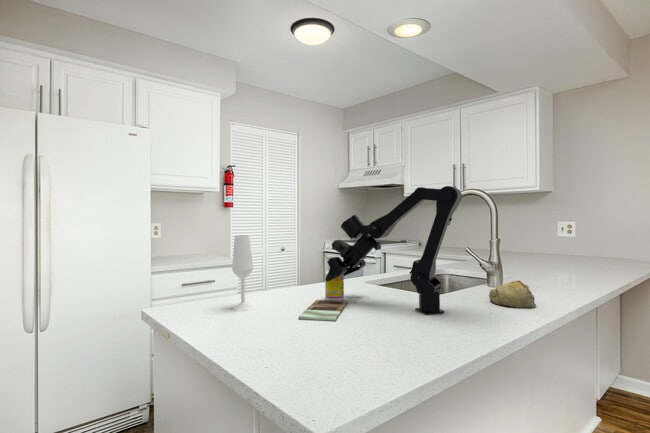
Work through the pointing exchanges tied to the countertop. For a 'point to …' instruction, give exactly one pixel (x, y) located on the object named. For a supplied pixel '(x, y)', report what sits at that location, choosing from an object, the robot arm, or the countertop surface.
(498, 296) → the pastry
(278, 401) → the countertop surface
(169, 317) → the countertop surface
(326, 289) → the supplement bottle
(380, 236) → the robot arm
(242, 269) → the champagne flute
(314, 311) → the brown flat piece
